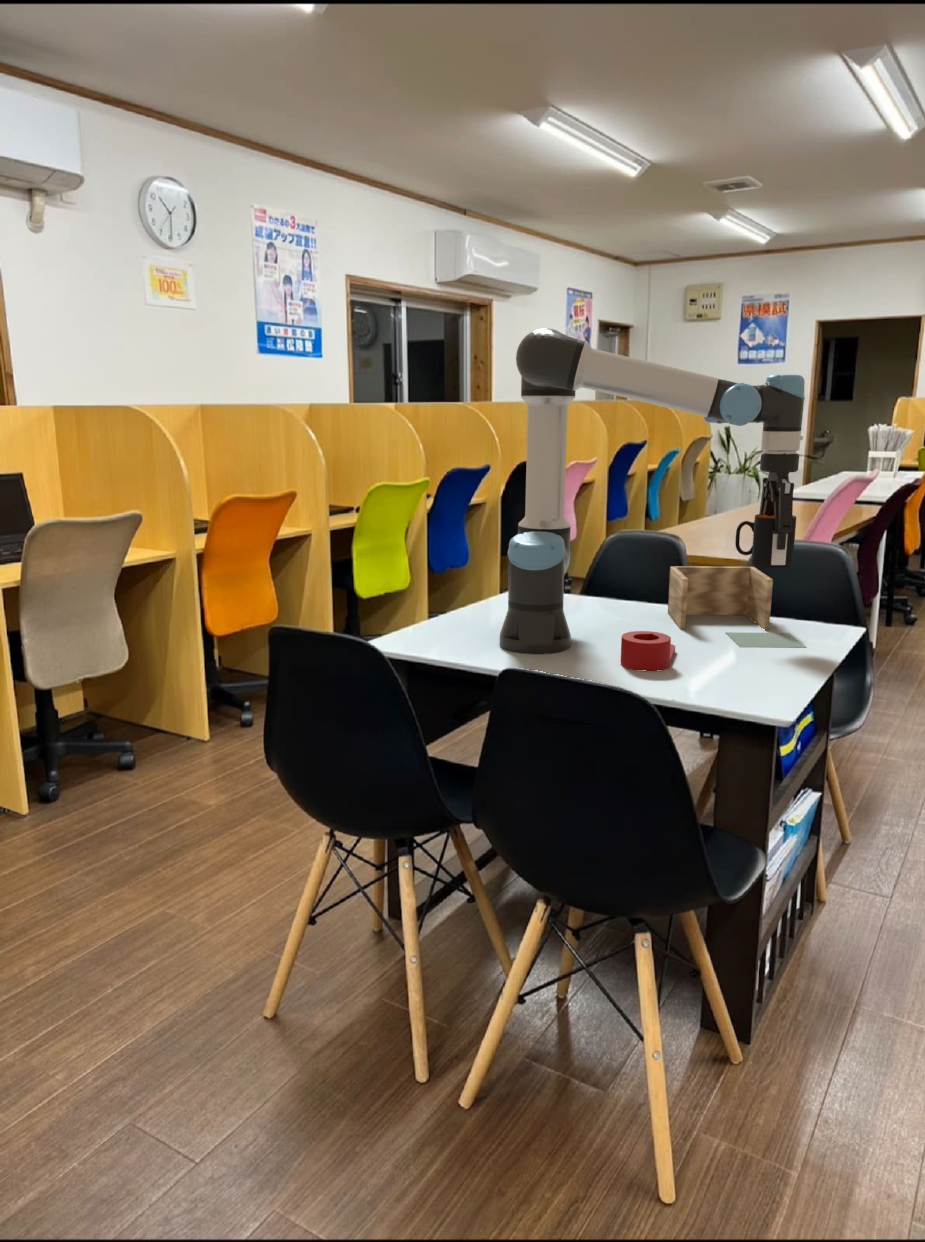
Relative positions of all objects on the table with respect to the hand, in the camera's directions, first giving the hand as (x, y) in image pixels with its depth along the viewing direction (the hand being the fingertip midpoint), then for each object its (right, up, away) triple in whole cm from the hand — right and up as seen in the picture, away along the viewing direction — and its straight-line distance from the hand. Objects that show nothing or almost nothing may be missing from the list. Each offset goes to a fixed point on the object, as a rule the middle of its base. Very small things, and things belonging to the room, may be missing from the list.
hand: (771, 560), depth 189 cm
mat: (0, -17, +4) cm, 18 cm away
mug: (-2, -1, +1) cm, 2 cm away
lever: (-28, -22, -11) cm, 37 cm away
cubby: (-6, -13, +22) cm, 26 cm away
